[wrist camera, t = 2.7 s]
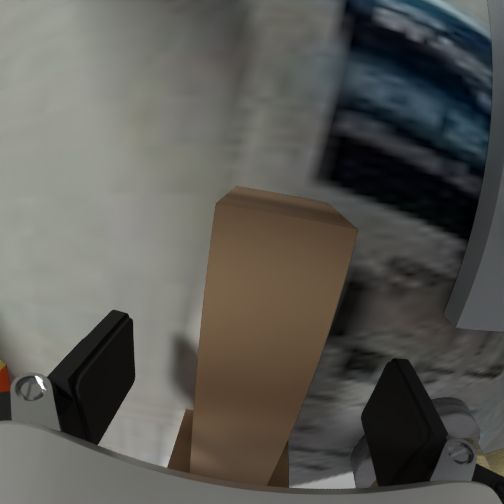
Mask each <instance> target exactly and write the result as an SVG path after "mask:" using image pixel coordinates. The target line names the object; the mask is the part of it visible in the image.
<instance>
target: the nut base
mask: <svg viewBox="0 0 504 504" xmlns="http://www.w3.org/2000/svg"><path fill="white" fill-rule="evenodd" d="M431 401H432V403H433V405H434V407H435V409H436V410H437V412H438V414H439V416H440V418H441V420H442V422H443V424H444V426H445V428H446V430H447V432H448V435H447V436H446V439H447V441H449V440H450V439H453V438H471V439H474V440H476V441H477V443H478V441H479V438H480V429H479V426H478V425H477V423H476V421H475V419H474V418H473V416H472V414H471V413H470V411H469V409H468V408H467V406H466V405H465V404H464V402H462V401H461V400H458V399H455V398H438V399H433V400H431ZM351 464H352V469H353V474H354V480H355V485H356V488H369V487H370V486H371V484H372V483H373V482H374V481H375V480H376V476H375V471H374V467H373V463H372V459H371V455H370V451H369V447H368V443H367V439H366V436H364V437H363V438H362V439H361V440H360V441H359V443H358V444H357V445H356V447H355V449H354V450H353V453H352V456H351Z"/></svg>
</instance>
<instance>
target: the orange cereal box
mask: <svg viewBox="0 0 504 504" xmlns="http://www.w3.org/2000/svg"><path fill="white" fill-rule="evenodd" d="M10 389H11V387H10V382H9V377H8V372H7V366H6V364H5V363H4V362H2V361H1V360H0V392H6V391H10Z"/></svg>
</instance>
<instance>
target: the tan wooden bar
mask: <svg viewBox="0 0 504 504" xmlns="http://www.w3.org/2000/svg"><path fill="white" fill-rule="evenodd" d="M357 232H358V229H357V228H356V227H354V226H353V225H352V224H351V223H350V222H349V221H348V220H347V219H345V218H344V217H343V216H342V215H341V214H340V213H339V212H337V211H336V210H335V209H334V208H333V207H332V206H331V205H329V204H328V203H324V202H320V201H315V200H310V199H305V198H299V197H294V196H289V195H284V194H278V193H273V192H267V191H261V190H256V189H250V188H244V187H238V186H236V187H235V188H234V189H232V190H231V191H230V192H229V193H228V194H227V195H225V196H224V197H223V198H222V199H221V200H219V201H218V202H217V203H216V206H215V213H214V221H213V228H212V235H211V243H210V251H209V259H208V267H207V275H206V284H205V292H204V301H203V311H202V320H201V330H200V340H199V350H198V361H197V373H196V385H195V398H194V411H192V410H188V409H186V411H185V414H184V417H183V420H182V423H181V426H180V430H179V433H178V436H177V439H176V442H175V445H174V448H173V451H172V455H171V458H170V461H169V464H168V467H167V468H169V469H173V470H177V471H181V472H185V473H190V474H194V475H199V476H204V477H209V478H214V479H220V480H225V481H232V482H238V483H245V484H253V485H262V486H272V487H285V488H289V459H288V438H289V436H290V434H291V431H292V429H293V427H294V424H295V422H296V419H297V417H298V414H299V412H300V410H301V407H302V405H303V402H304V400H305V397H306V394H307V392H308V389H309V387H310V384H311V381H312V379H313V376H314V373H315V370H316V368H317V365H318V362H319V359H320V356H321V354H322V351H323V348H324V345H325V342H326V339H327V336H328V333H329V330H330V327H331V324H332V321H333V318H334V314H335V311H336V308H337V305H338V301H339V298H340V295H341V291H342V288H343V285H344V281H345V278H346V274H347V270H348V267H349V263H350V259H351V256H352V252H353V248H354V244H355V240H356V236H357Z"/></svg>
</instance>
